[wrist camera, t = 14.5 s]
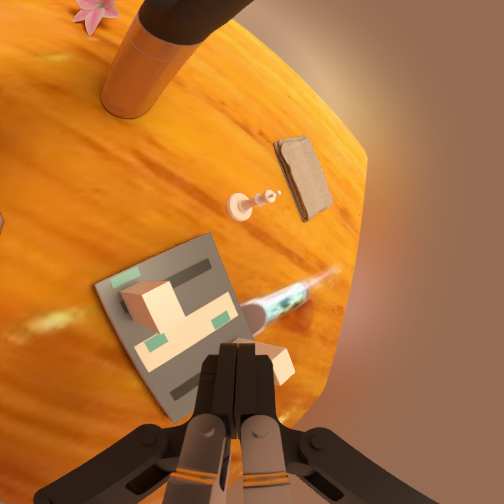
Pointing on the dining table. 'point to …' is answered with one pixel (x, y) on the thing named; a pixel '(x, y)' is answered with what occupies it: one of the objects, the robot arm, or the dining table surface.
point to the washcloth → (303, 176)
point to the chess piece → (247, 204)
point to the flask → (1, 222)
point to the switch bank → (184, 334)
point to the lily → (95, 12)
